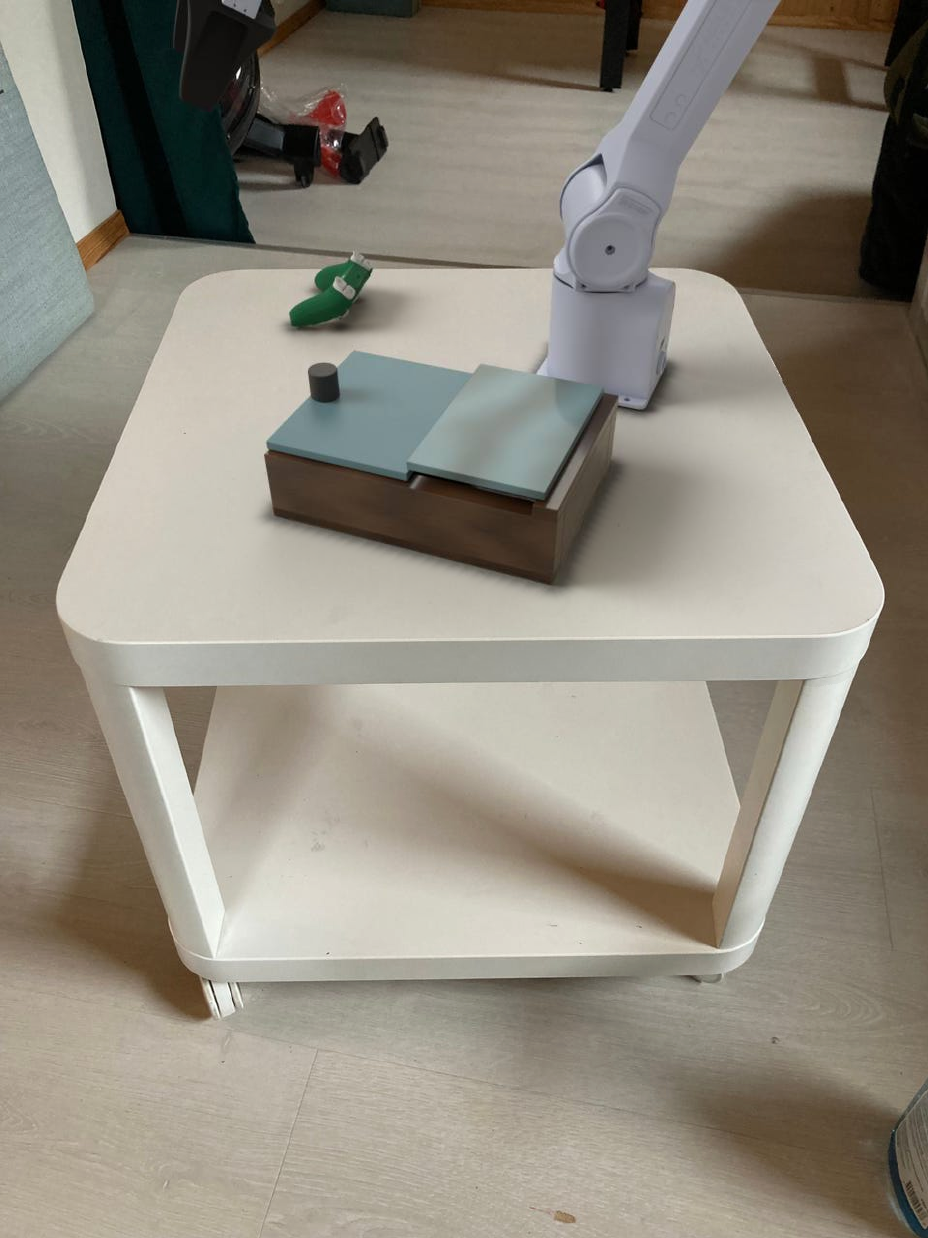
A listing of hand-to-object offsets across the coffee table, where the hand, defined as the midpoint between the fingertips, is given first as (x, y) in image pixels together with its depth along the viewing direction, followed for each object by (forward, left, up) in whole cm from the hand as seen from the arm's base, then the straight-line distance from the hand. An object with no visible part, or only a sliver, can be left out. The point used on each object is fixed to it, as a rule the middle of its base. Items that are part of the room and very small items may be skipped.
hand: (191, 78), depth 66 cm
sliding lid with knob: (-17, +9, -17) cm, 26 cm away
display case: (-22, +9, -22) cm, 32 cm away
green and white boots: (-2, -13, -22) cm, 26 cm away
